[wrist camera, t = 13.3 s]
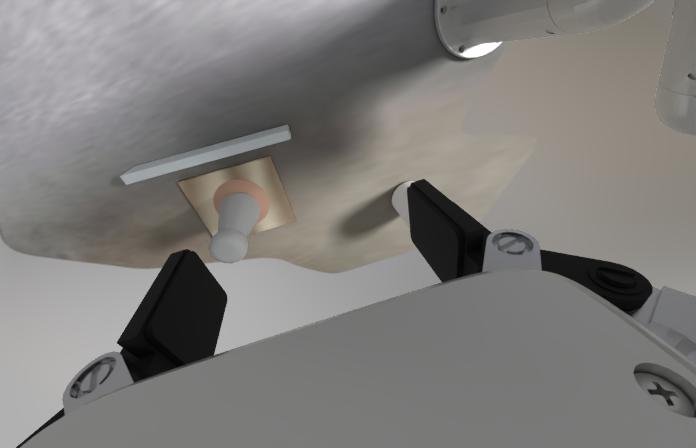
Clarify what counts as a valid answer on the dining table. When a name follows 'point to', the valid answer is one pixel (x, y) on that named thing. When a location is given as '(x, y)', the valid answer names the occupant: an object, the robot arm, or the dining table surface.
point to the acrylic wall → (206, 154)
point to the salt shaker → (234, 227)
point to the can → (402, 201)
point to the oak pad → (243, 177)
